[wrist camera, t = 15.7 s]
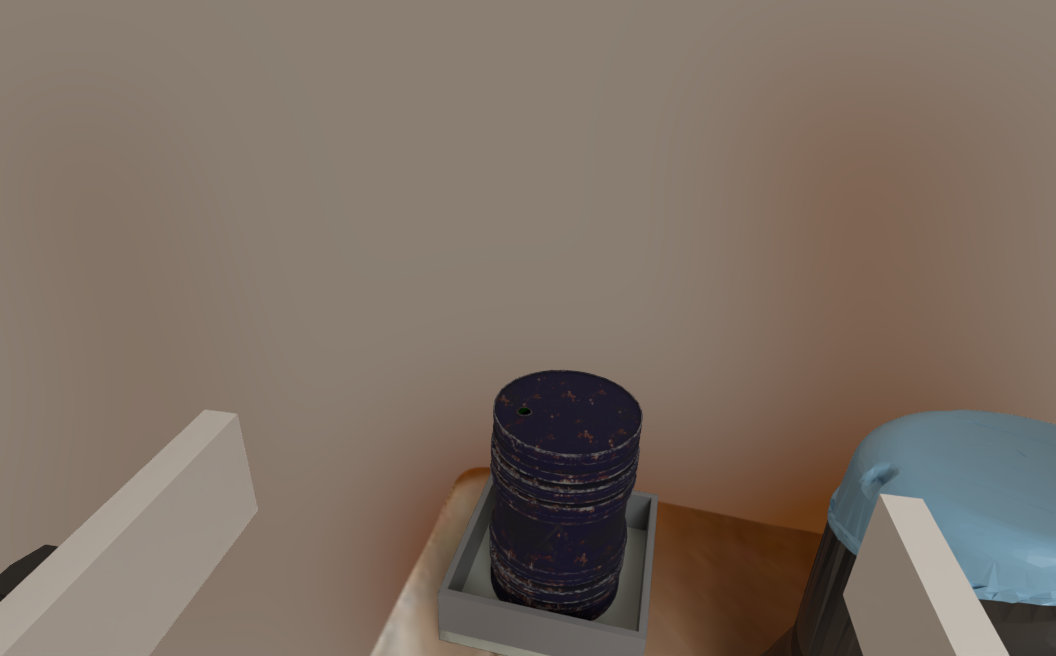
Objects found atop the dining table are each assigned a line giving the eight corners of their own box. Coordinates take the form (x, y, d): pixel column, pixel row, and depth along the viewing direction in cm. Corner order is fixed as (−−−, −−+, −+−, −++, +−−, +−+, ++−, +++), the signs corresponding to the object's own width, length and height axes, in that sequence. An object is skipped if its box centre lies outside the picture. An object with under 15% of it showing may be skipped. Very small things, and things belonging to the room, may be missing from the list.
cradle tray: (651, 536, 54) (658, 494, 52) (637, 687, 42) (646, 640, 40) (493, 505, 56) (494, 464, 54) (439, 639, 44) (437, 593, 42)
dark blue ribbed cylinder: (600, 520, 54) (619, 365, 47) (638, 620, 45) (668, 449, 38) (481, 532, 52) (482, 373, 45) (497, 639, 43) (502, 462, 37)
